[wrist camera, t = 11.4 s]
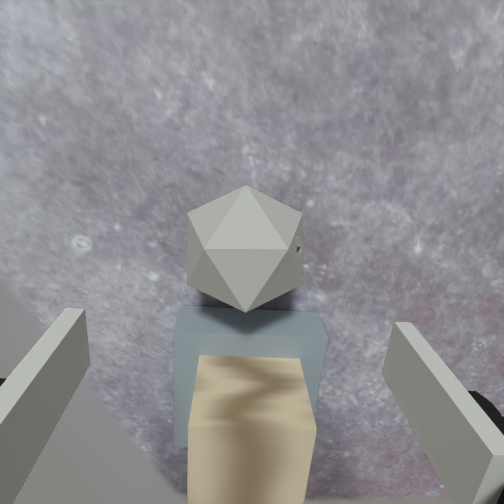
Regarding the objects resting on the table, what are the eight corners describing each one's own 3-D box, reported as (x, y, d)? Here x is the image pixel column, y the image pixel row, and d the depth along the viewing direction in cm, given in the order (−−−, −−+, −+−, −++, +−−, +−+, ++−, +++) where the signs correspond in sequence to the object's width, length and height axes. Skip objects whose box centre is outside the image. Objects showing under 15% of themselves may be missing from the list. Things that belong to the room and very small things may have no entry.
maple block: (299, 358, 30) (316, 429, 23) (288, 433, 33) (301, 515, 26) (199, 354, 29) (188, 425, 23) (197, 431, 32) (186, 513, 26)
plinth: (317, 312, 33) (327, 338, 29) (301, 416, 37) (307, 450, 33) (181, 305, 32) (173, 331, 28) (180, 412, 36) (173, 446, 33)
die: (256, 295, 33) (338, 310, 25) (162, 302, 28) (226, 325, 20) (256, 202, 33) (338, 187, 25) (162, 194, 28) (226, 172, 20)
